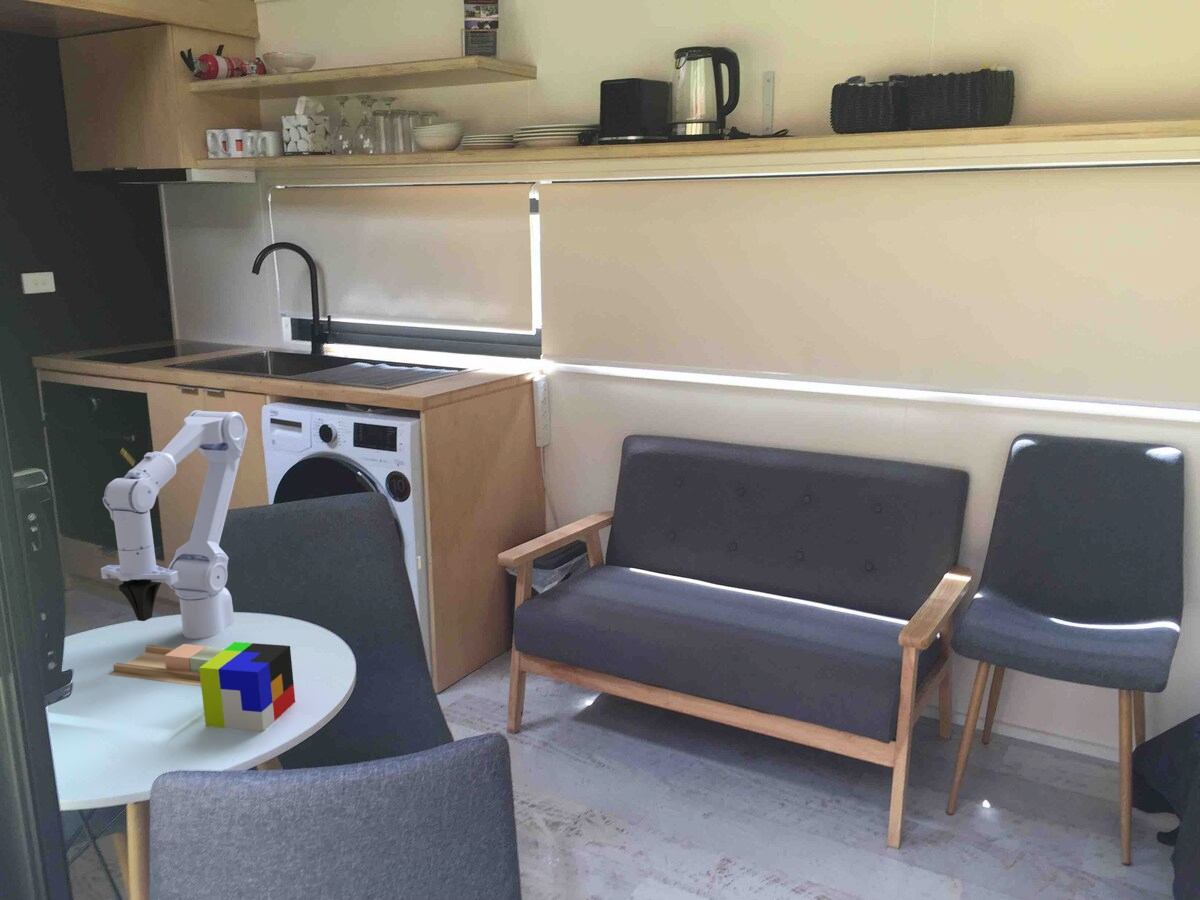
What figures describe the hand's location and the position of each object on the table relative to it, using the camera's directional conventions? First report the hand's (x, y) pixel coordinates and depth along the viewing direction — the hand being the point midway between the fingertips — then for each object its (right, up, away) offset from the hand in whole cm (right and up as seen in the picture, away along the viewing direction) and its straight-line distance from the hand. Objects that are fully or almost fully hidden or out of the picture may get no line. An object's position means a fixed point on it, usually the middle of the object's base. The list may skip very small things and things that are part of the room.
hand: (145, 618), depth 176 cm
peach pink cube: (+8, -8, -1) cm, 11 cm away
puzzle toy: (+24, -13, -15) cm, 32 cm away
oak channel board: (+9, -10, -1) cm, 13 cm away
